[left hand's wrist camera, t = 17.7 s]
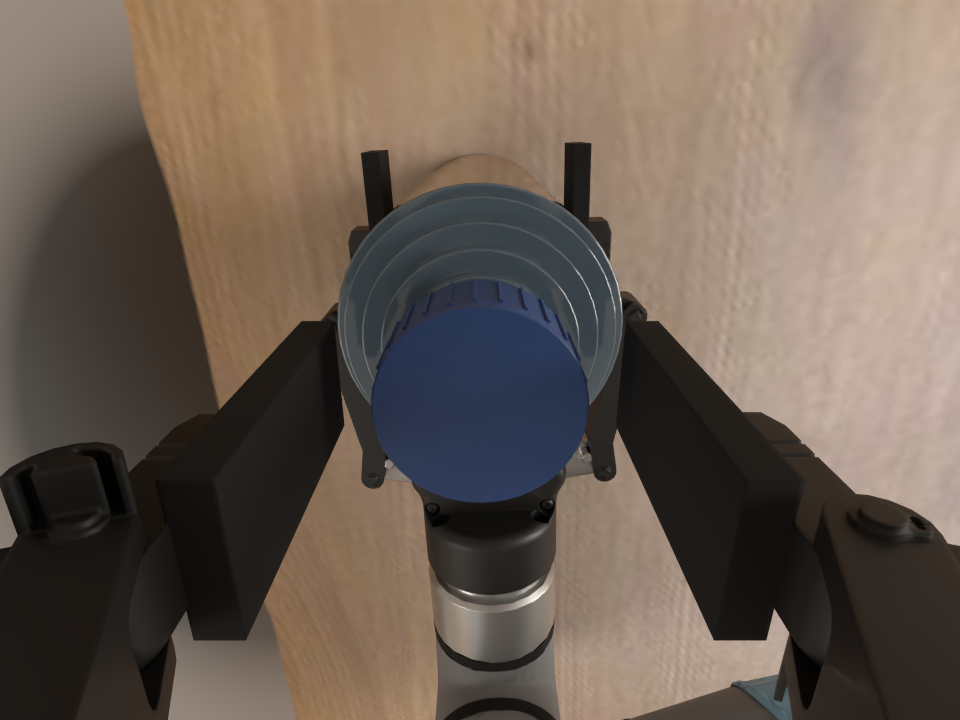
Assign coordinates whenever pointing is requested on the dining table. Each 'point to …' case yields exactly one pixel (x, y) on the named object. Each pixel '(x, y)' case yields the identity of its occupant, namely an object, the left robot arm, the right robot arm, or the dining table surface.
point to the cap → (480, 393)
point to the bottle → (480, 262)
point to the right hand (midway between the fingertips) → (475, 147)
